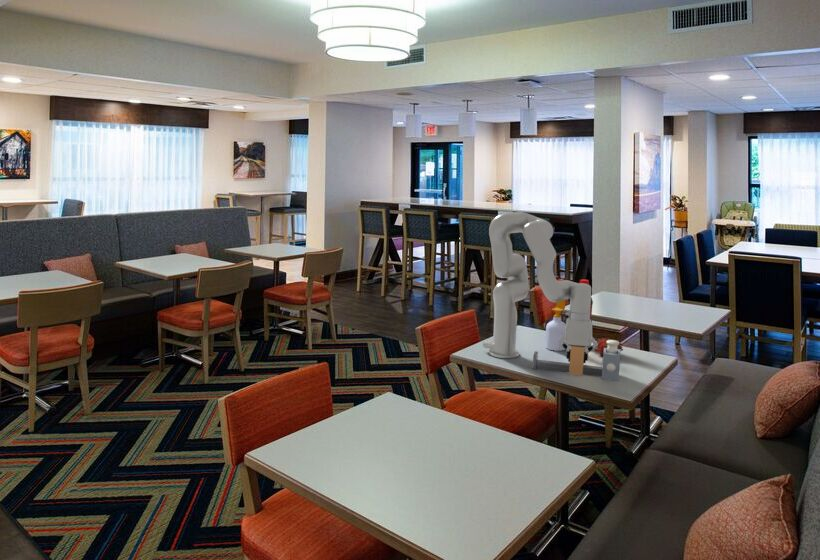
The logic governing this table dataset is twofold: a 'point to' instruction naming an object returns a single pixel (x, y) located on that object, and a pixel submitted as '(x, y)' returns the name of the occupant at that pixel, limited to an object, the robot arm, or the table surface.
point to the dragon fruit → (604, 345)
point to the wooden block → (576, 360)
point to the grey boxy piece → (611, 365)
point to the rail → (563, 367)
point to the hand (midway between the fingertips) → (577, 361)
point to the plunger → (612, 346)
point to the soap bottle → (555, 329)
